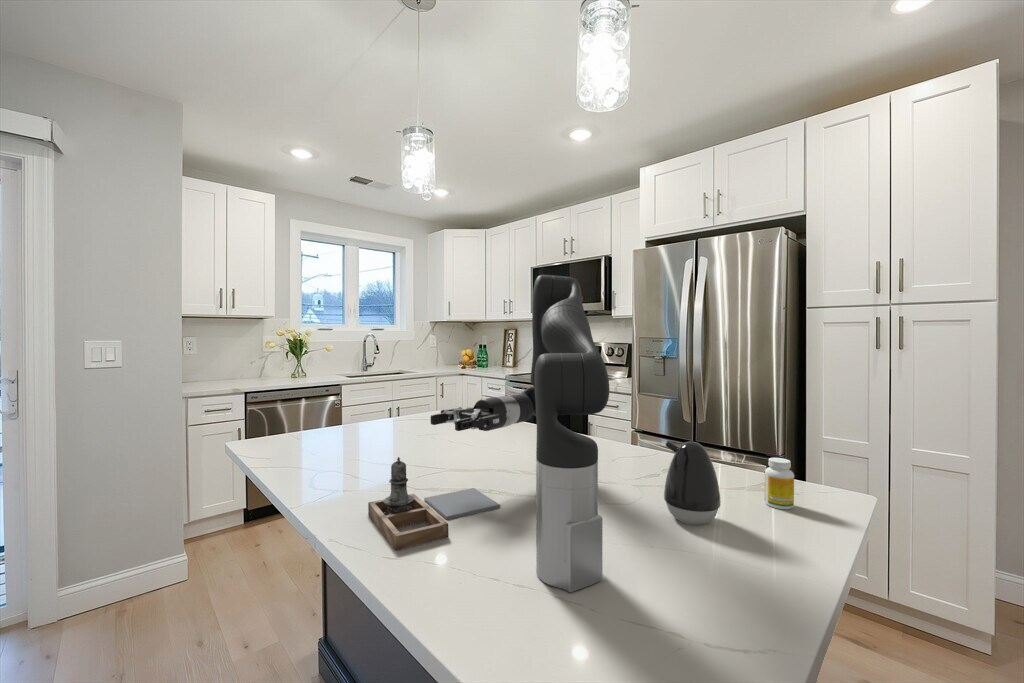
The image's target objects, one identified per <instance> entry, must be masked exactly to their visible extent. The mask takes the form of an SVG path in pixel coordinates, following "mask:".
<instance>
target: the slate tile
mask: <svg viewBox="0 0 1024 683" xmlns="http://www.w3.org/2000/svg"><path fill="white" fill-rule="evenodd" d="M424 500H425V501H426V502H425V501H424ZM423 501H424V502H425V503H426V504H427V505H428V506H429V507H430V508H432V507H433V508H432V509H433V510H434V511H435V512H436V513H437V514H438V515H439V516H440V515H441V516H442V518H443V519H444V520H445V521H446V520H450V519H451V518H452V519H456V518H460V517H464V516H469V515H473V514H477V513H480V512H486V511H490V510H494V509H498V508H501V504H500V503H498V502H497V501H495V500H494V499H492V498H490V497H489V496H487V495H486V494H484V493H482V492H481V491H480V490H477V489H476V488H475V487H472V488H467V489H462V490H456V491H452V492H447V493H442V494H435V495H432V496H427V497H424V498H423ZM452 519H451V520H452Z"/></svg>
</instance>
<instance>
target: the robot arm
mask: <svg viewBox="0 0 1024 683" xmlns="http://www.w3.org/2000/svg"><path fill="white" fill-rule="evenodd" d="M581 288H582V287H581V285H580V282H579V281H578V279H576V278H574V277H571V276H563V275H551V274H540V275H538V276H537V277H536V279H535V281H534V286H533V290H532V304H531V305H532V307H531V308H532V309H531V310H532V311H531V312H532V316H531V318H532V320H531V321H532V323H531V324H532V325H531V326H532V330H531V332H532V333H531V334H532V360H531V369H530V383H531V385H532V386H528V387H527V388H526V389H524V390H523V391H521V392H519V393H518V394H513V395H501V396H500V395H499V396H493V397H487V398H481V399H478V401H477V402H475V404H474V405H473V406H471V407H470V406H469V407H465V408H463V407H461V406H459V407H454V408H448V409H447V408H446V409H441V410H440V413H435V414H431V415H430V425H433V426H436V425H441V424H449V423H450V424H451V423H453V424H454V429H455V431H457V432H460V431H467V430H477V429H478V430H480V431H483V432H489V431H494V430H498V429H502V428H506V427H510V426H511V425H515V424H519V423H523V422H526V421H528V420H530V419H531V418H532V416H534V417H536V446H535V447H536V453H535V454H536V456H535V462H536V463H535V464H536V465H535V466H536V467H535V468H536V470H535V472H536V474H535V477H536V478H535V480H536V482H535V490H536V491H535V494H536V495H535V499H536V500H535V506H536V507H535V512H536V513H535V514H536V516H535V519H536V520H535V522H536V524H535V526H536V527H535V529H536V532H535V533H536V534H535V536H536V537H535V539H536V540H535V547H536V549H535V550H536V560H535V561H536V565H535V566H536V576H537V577H538V578H539V579H540V581H542V582H543V583H545V584H547V585H549V586H552V587H555V588H559V589H563V590H566V591H567V592H569V593H573V592H575V591H578V590H581V589H583V588H587V587H589V586H592V585H594V584H596V583H599V582H602V581H603V516H602V515H600V514H599V507H598V506H599V505H598V502H599V498H598V497H599V493H598V492H599V488H598V483H599V482H598V481H599V469H598V468H599V464H598V463H599V447H598V443H597V442H596V441H595V440H594V439H592V438H591V437H589V436H587V435H583V434H581V433H578V432H575V431H572V430H571V429H569V428H567V427H566V426H564V425H562V424H561V423H560V422H559V420H558V416H559V415H561V416H567V415H568V416H581V415H583V416H589V415H595V414H598V413H599V414H600V413H601V412H603V410H604V409H605V408H606V406H607V404H608V402H609V398H610V379H609V374H608V371H607V366H606V364H605V361H604V359H603V357H602V354H600V351H599V350H598V347H597V346H596V344H595V341H594V338H593V335H592V334H593V333H592V331H591V325H590V322H589V320H588V317H587V315H586V312H585V309H584V305H583V295H582V289H581Z"/></svg>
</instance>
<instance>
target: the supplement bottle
mask: <svg viewBox="0 0 1024 683" xmlns="http://www.w3.org/2000/svg"><path fill="white" fill-rule="evenodd" d="M791 465H792V464H791V460H790V459H786V458H783V457H770V458H769V457H768V466H769V467H767V468H765V469H764V490H763V492H764V493H763V494H764V495H763V496H764V499H763V501H764V503H765V505H766V506H768V507H771V508H774V509H778V510H783V511H785V510H791V509H793V508H794V506H795V503H794V502H795V473H794V472H793V471H792V470H790V469H791V467H792V466H791Z"/></svg>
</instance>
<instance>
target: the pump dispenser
mask: <svg viewBox="0 0 1024 683" xmlns="http://www.w3.org/2000/svg"><path fill="white" fill-rule="evenodd" d="M665 447H667V448H668V449H670V450H671V451H672V452H674V454H673V457H672V458H671V461H670V464H669V466H668V469H667V473H666V479H665V483H664V491H663V498H664V501H665V503H666V507H667V509H668V511H669V513H670V514H671V516H673V518H675V519H676V520H677V521H679V522H681V523H683V524H687V525H692V526H701V525H706V524H708V523H710V522H711V521H713V520H714V519H715V517H716V516H717V514H718V511H719V509H720V508H721V492H720V486H719V481H718V477H717V474H716V470H715V466H714V464H713V461H712V459H711V457H710V455H709V453H708V451H707V450H706V448H705V447H704V446H703V445H702V444H700V443H699V442H695V441H685V442H684V443H682V444H680V445H679V446H678V445H677V444H674V443H673V442H670V441H667V442H666V443H665Z"/></svg>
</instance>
